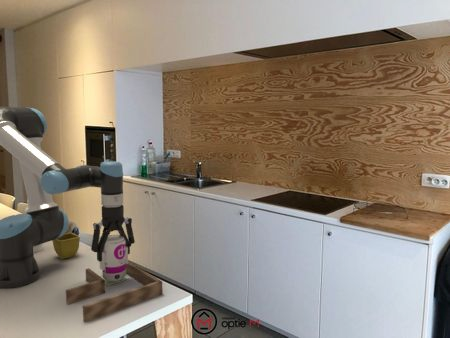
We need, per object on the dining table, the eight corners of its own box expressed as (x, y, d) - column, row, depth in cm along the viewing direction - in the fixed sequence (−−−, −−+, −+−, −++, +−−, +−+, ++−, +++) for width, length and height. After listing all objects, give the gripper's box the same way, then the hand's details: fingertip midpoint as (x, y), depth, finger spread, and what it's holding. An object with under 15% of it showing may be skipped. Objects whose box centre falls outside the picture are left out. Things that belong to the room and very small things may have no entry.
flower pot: (81, 256, 159) (80, 236, 158) (61, 261, 153) (59, 241, 152) (72, 251, 165) (71, 232, 164) (52, 256, 159) (51, 236, 158)
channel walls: (84, 322, 107) (84, 307, 106) (53, 290, 127) (52, 277, 127) (162, 293, 125) (162, 281, 124) (124, 269, 145) (123, 258, 144)
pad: (103, 286, 130) (103, 286, 130) (92, 278, 137) (92, 278, 136) (129, 278, 137) (129, 278, 137) (118, 271, 143) (117, 270, 143)
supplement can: (130, 276, 135) (130, 236, 133) (113, 284, 128) (111, 242, 126) (115, 271, 139) (114, 232, 138) (97, 278, 133) (96, 238, 131)
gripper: (87, 211, 121) (89, 277, 124) (144, 202, 135) (145, 262, 138) (78, 207, 126) (81, 270, 129) (134, 199, 140) (135, 256, 143)
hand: (114, 266), depth 133 cm, fingers closed on supplement can, 8 cm apart
